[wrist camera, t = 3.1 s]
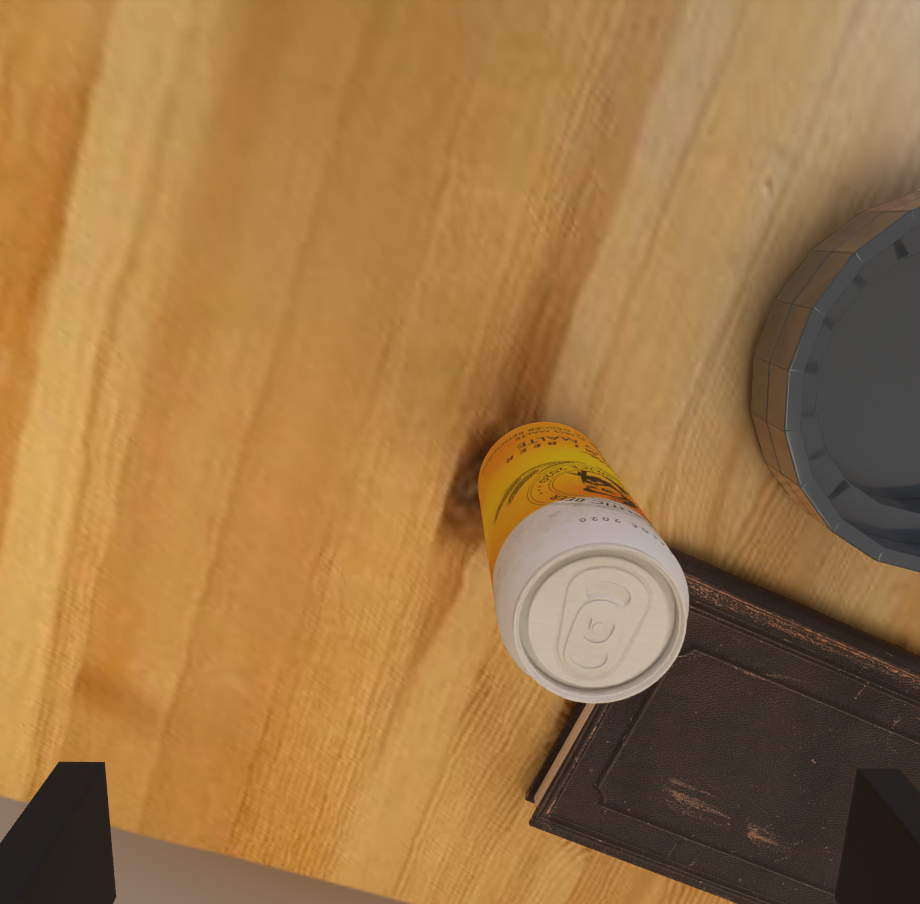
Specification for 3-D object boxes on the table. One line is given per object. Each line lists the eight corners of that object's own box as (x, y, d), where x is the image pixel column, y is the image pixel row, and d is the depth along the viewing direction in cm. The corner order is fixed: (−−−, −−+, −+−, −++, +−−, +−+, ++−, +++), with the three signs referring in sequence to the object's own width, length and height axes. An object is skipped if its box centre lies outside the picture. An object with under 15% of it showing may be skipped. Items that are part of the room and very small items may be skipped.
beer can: (620, 435, 39) (728, 559, 24) (582, 551, 40) (662, 733, 26) (496, 403, 38) (532, 511, 24) (462, 522, 40) (476, 691, 25)
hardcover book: (884, 933, 47) (906, 968, 45) (524, 796, 44) (529, 826, 42) (1046, 708, 43) (1079, 734, 41) (667, 541, 40) (680, 560, 38)
